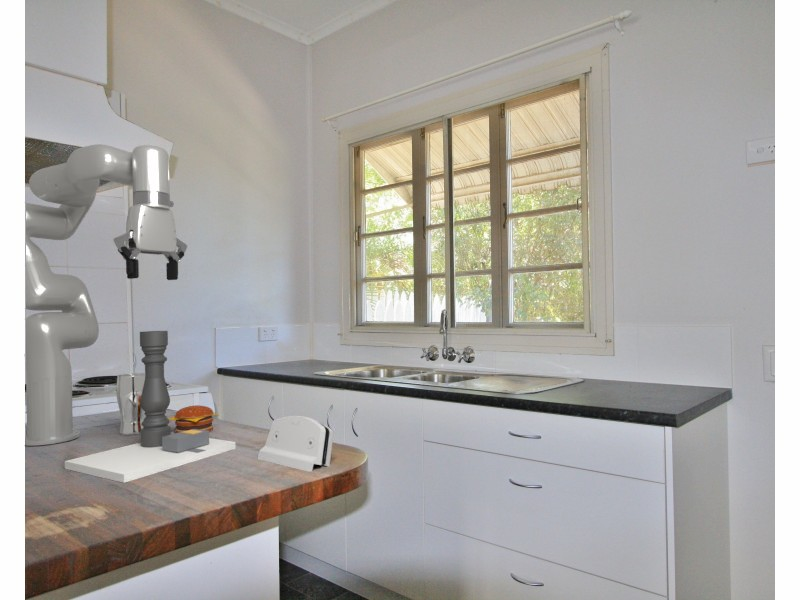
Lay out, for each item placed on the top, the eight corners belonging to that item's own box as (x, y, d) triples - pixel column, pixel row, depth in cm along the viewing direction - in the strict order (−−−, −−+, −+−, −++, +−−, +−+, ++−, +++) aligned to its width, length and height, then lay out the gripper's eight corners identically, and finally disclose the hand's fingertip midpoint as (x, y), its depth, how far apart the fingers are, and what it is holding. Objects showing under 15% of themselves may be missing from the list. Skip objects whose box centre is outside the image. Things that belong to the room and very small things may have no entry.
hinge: (256, 458, 111) (268, 410, 114) (273, 461, 115) (285, 414, 117) (311, 472, 101) (323, 418, 104) (328, 474, 104) (339, 422, 107)
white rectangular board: (64, 468, 108) (64, 460, 108) (177, 439, 130) (177, 433, 130) (124, 482, 98) (123, 473, 98) (235, 448, 120) (235, 441, 120)
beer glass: (135, 436, 135) (134, 376, 135) (111, 435, 137) (110, 376, 137) (153, 429, 142) (152, 373, 142) (130, 429, 143) (129, 373, 144)
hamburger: (166, 435, 136) (166, 408, 136) (192, 427, 145) (191, 402, 145) (197, 436, 133) (197, 409, 133) (221, 428, 142) (221, 403, 142)
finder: (162, 449, 114) (162, 435, 114) (194, 441, 121) (194, 428, 121) (177, 452, 111) (177, 438, 111) (209, 443, 118) (209, 430, 118)
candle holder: (164, 438, 124) (162, 330, 125) (175, 443, 120) (173, 330, 120) (136, 444, 120) (134, 331, 120) (146, 448, 116) (144, 332, 116)
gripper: (174, 210, 130) (176, 281, 130) (104, 198, 115) (105, 278, 115) (195, 206, 126) (196, 279, 126) (124, 194, 111) (126, 276, 111)
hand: (153, 279), depth 120 cm, fingers open, 9 cm apart
